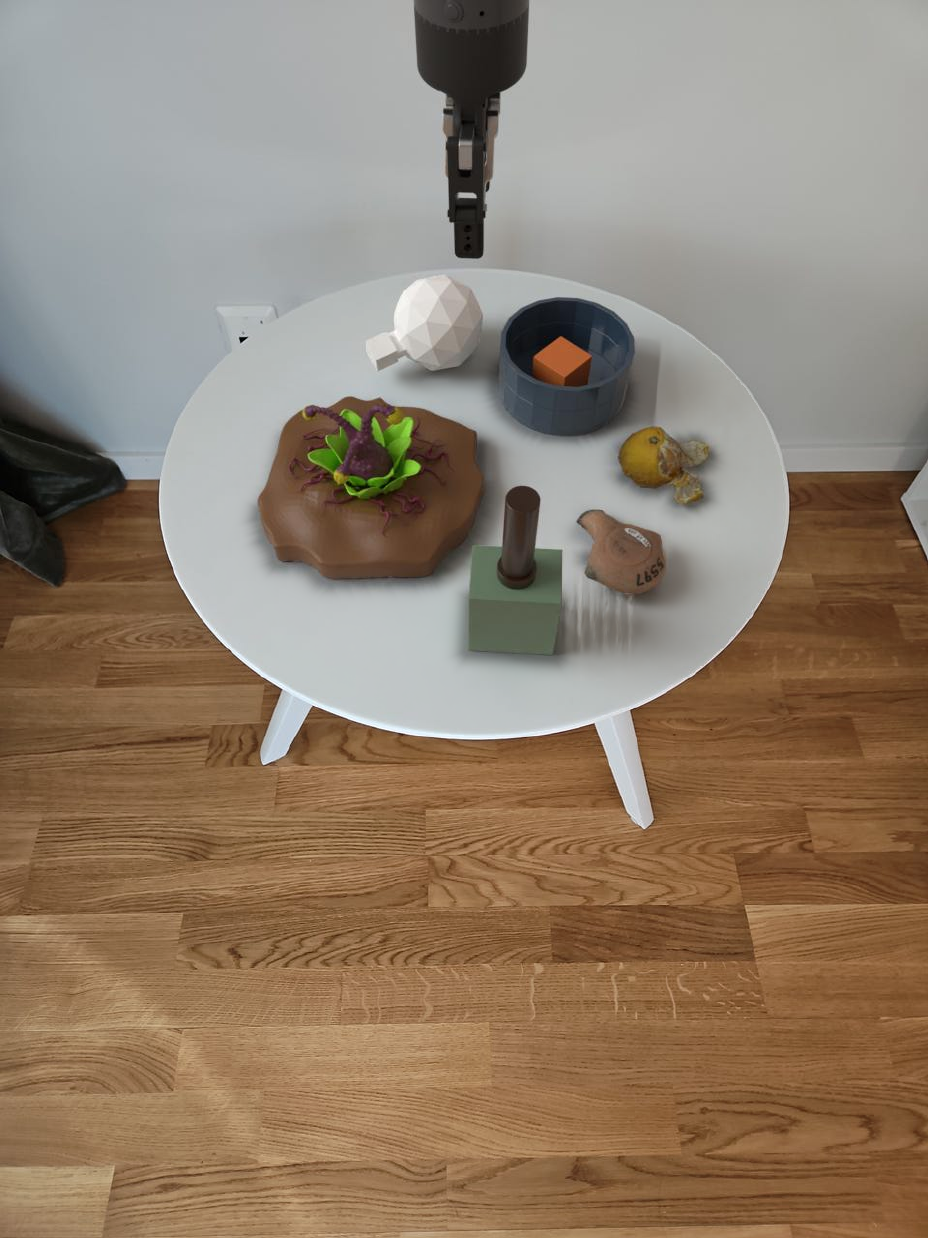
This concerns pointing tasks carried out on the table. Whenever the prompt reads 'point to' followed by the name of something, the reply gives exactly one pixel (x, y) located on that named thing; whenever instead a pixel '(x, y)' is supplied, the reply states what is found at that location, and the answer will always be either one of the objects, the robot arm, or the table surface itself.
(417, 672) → the table surface
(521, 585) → the brown cylindrical peg
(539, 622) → the stand
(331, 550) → the plant
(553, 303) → the bowl
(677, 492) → the fruit
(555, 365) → the block
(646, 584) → the oil lamp
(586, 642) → the table surface
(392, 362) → the perfume bottle
